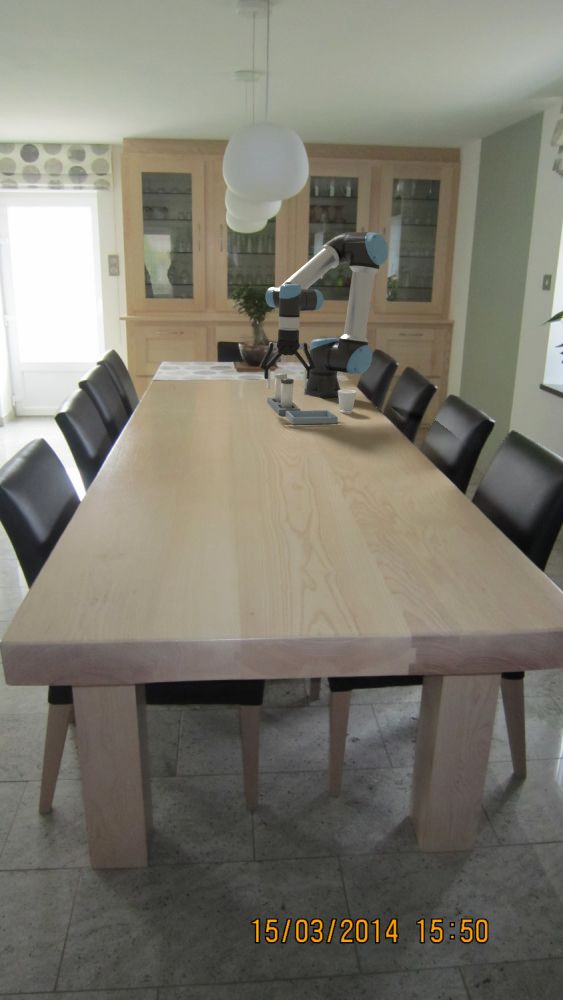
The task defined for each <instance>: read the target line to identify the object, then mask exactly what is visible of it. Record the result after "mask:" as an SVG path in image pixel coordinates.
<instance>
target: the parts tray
mask: <svg viewBox="0 0 563 1000" xmlns="http://www.w3.org/2000/svg"><path fill="white" fill-rule="evenodd" d="M285 418H287V420H289V421H290V423H291V425H295V426H322V425H323V426H324V425H325V426H327V425H328V426H329V425H333V424H335V425H338V420H339V418H338V416H337V415H336V414H334V413H333V412H332V411H330V410H329V409H319V410H318V409H316V410H315V409H313V410H301V411H286V415H285Z"/></svg>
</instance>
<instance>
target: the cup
mask: <svg viewBox="0 0 563 1000" xmlns="http://www.w3.org/2000/svg"><path fill="white" fill-rule="evenodd" d="M356 396H357V391H356V390H353V389H340V390H339V391H338V396H337V398H338V404H339V405H338V406H339V409H340V413H341V414H345V415H346V414H347V415H348V414H352V412H353V411H352V410H353V408H354V405H355V400H356Z"/></svg>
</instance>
